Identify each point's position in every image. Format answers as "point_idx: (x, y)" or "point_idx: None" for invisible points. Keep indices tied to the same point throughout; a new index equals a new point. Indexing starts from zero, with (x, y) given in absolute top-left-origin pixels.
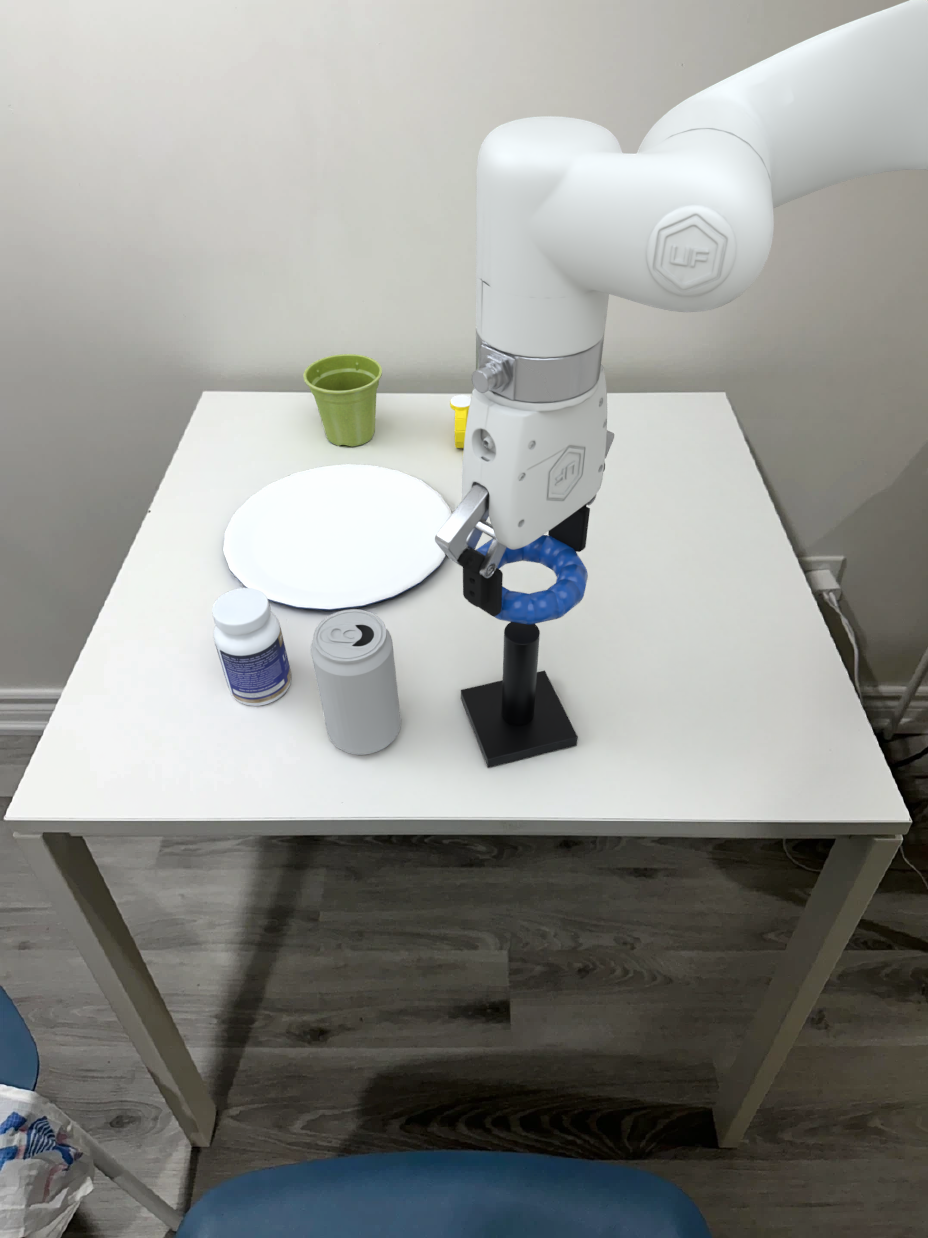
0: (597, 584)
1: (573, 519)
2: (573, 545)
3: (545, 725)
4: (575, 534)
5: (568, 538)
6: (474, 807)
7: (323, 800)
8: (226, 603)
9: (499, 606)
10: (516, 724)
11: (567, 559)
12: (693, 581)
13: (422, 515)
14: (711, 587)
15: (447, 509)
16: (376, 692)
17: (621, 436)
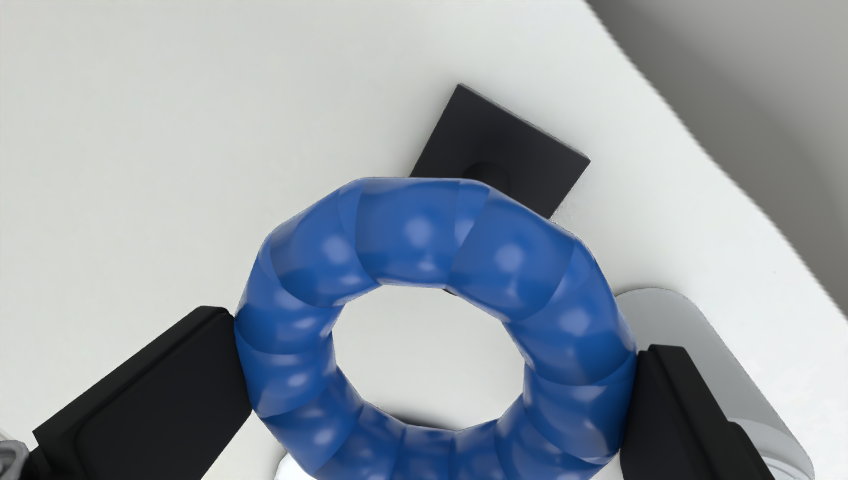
0: (218, 254)
1: (144, 426)
2: (224, 338)
3: (474, 138)
4: (189, 367)
5: (218, 368)
6: (663, 122)
7: (787, 293)
8: None
9: (674, 367)
10: (506, 172)
11: (286, 318)
12: (107, 158)
13: (311, 477)
14: (93, 131)
15: (283, 465)
16: (720, 372)
17: (29, 380)
